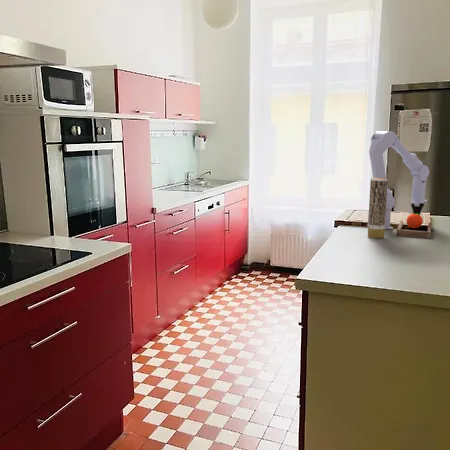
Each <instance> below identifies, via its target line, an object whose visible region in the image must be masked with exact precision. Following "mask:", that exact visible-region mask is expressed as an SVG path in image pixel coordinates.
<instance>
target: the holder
mask: <svg viewBox="0 0 450 450" xmlns="http://www.w3.org/2000/svg"><path fill="white" fill-rule="evenodd" d="M403 226H404V220H400V221H399V224H398V226H397V228H396V235H395V236H397V237H398V236H400V237H410V238H411V237H412V238H420V239H421V238H422V239H423V238H424V239H431V233H432V231H431V230H432V222H428V225H427V231H425V230H412V229H411V230H410V229H403Z"/></svg>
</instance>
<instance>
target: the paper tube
mask: <svg viewBox="0 0 450 450" xmlns="http://www.w3.org/2000/svg"><path fill="white" fill-rule="evenodd" d="M369 185H370V187H369V204H368V205H369V206H368V213H369V219H368V218H367V225H368V226H367V237H368V238H371V239H377V240H378V239H383V238H384V237H385V232H386V231H385V230H386V229H385V217H386V200H387V186H388V185H389V184H388V178H387V177H386V178H373V177H372V178H370V182H369Z"/></svg>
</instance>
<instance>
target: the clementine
mask: <svg viewBox="0 0 450 450" xmlns="http://www.w3.org/2000/svg"><path fill="white" fill-rule="evenodd" d="M423 217H424V219H425V216H424V215H423V214H421V213H420V214H413V213H411V214H409V215H408V216H407V218H406V225H407V227H409V228H411V229H418V228H420V227H421V226H422V224H423V221H424V220H423Z"/></svg>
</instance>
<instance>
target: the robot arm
mask: <svg viewBox="0 0 450 450" xmlns="http://www.w3.org/2000/svg"><path fill="white" fill-rule="evenodd" d="M370 142H371V143H370V147H369V151H368V153H369V160H370V165H371V173H372V176H373V177H372V178H386V179H387V175H386V168H385V162H384V153H385V151H387V150H388V149H390V147H391V148H392V149H393V150H395V151H396V153H397V154H399V156H401V158H402V162H403V163H404V165H405V166H406V167H407V168H408V169H409V171H410V172H409V173H410V174H411V175H412V187H411V199H410V202H412V203H410V206H411V209H412V214H421V212H422V210H423V208H424V206H425V203H426V202H428V199H425V198H426V197H425V196H426V185H427V180H428V176H429V174H430V169H429V167H428V165H425V164H423V161H422V160H420V159H419V158H418V157H417V156H418V154H416V153H414V152H409V151H408V149H407V148H406V147H405V145H404V144H403V143H402V141H401V140H400V139H399V135H397V134H396V133H395V132H394V131H392V130H389V131H388V130H387V131H386V130H384V131H383V130H377V131H375V132H374V133H373V134H372V135H371V137H370ZM395 203H396V200H395V198H394V196H393V193H392V190H390V189H389V187H388V185H387V200H386V217H385V230H393V229H394V227H392V226H391V214H392V208H393V207H395ZM368 219H369V212H368V216H367V220H368ZM366 226H367V227H368V224H367V225H366Z"/></svg>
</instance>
